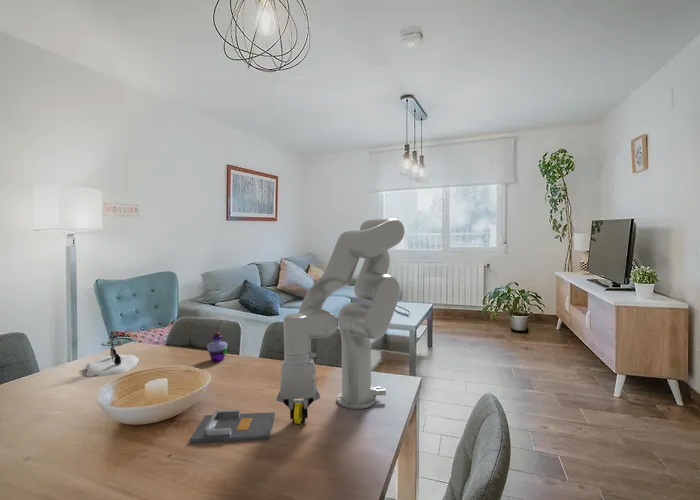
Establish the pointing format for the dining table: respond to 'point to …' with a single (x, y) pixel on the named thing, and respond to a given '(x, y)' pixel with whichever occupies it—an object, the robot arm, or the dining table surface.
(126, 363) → the figurine
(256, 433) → the gray fixture board
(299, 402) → the watch
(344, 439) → the dining table surface
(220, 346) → the potion bottle
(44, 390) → the dining table surface
